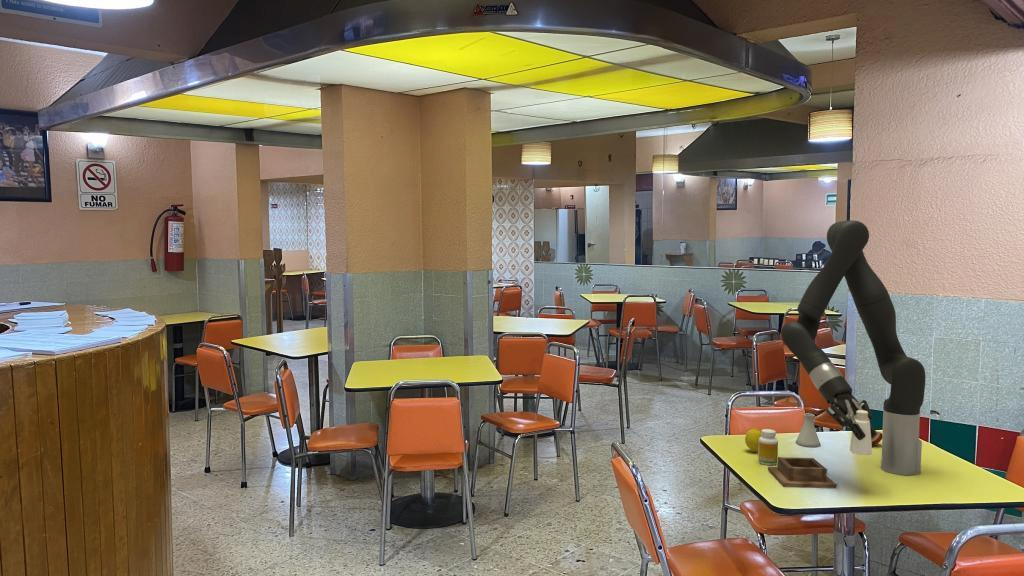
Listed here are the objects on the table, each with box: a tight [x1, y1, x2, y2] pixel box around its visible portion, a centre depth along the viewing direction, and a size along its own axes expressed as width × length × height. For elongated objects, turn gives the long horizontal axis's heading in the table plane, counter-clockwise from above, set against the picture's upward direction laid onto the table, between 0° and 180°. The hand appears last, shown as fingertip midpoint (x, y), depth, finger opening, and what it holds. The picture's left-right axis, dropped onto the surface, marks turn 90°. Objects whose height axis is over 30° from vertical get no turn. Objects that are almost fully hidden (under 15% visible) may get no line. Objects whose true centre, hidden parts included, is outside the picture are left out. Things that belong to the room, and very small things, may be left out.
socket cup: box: [767, 456, 838, 489], centre depth 196 cm, size 14×14×4 cm
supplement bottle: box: [757, 428, 779, 466], centre depth 210 cm, size 5×5×10 cm
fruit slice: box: [871, 430, 882, 446], centre depth 231 cm, size 8×7×5 cm
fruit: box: [744, 426, 762, 453], centre depth 221 cm, size 6×6×8 cm
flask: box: [795, 412, 821, 448], centre depth 230 cm, size 7×7×10 cm
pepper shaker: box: [849, 410, 873, 456], centre depth 186 cm, size 5×5×11 cm
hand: (868, 437), depth 184 cm, fingers closed on pepper shaker, 3 cm apart
